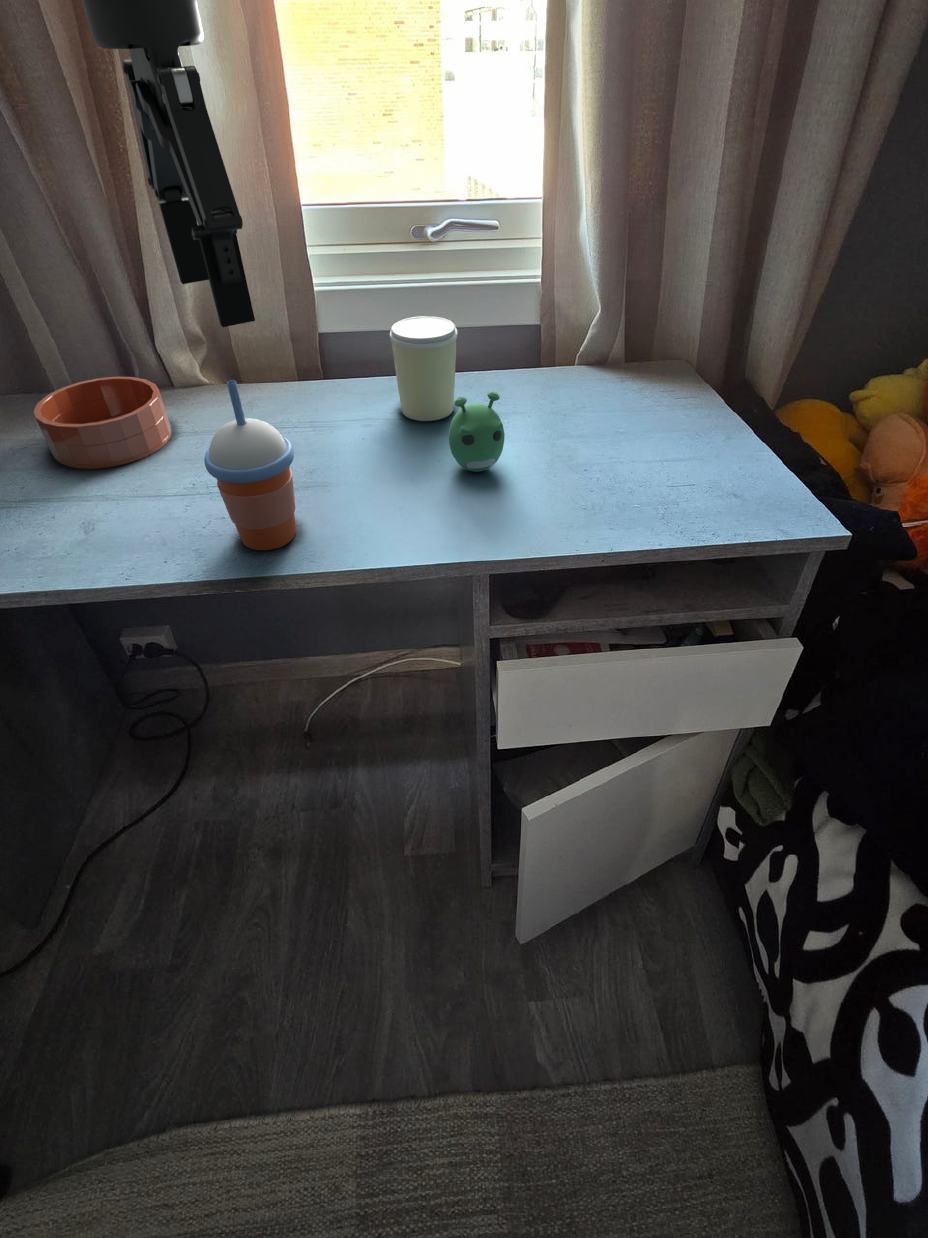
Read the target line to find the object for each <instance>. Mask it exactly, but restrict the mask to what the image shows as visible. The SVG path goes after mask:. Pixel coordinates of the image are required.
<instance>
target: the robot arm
mask: <svg viewBox="0 0 928 1238" xmlns="http://www.w3.org/2000/svg"><path fill="white" fill-rule="evenodd" d="M81 3H82V6H83V9H84V13H85V16H86V19H87V22H88V27H89V29H90V33H91V37H92V39H93V41H94V43H95V44H96V45H97V46H98V47H99V48H102V49H106V50H129V53H130V58H125V59H122V61H121V62H122V65H121V68H122V71H123V74H125V78H126V82H127V85H128V90H129V94H130V99H131V103H132V108H133V113H134V118H135V123H136V126H137V127H136V128H137V132H138V137H139V141H140V147H141V152H142V156H143V161H144V166H145V170H146V175H147V178H146V180H147V183H148V186H149V187H150V188H151V190H153V193H154V196H155V197H156V198H157V201H158V202H160V203H158V205H159V209H160V212H161V217H162V220H163V223H164V227H165V231H166V234H167V237H168V241H169V245H170V248H171V253H172V255H173V259H174V263H175V267H176V270H177V274H178V277H179V281H180V283H181V284H182V285H186V284H193V283H199V282H204V281H209V285H210V290H211V293H212V297H213V301H214V305H215V309H216V313H217V317H218V321H219V325H220V326H221V327H222V328H226V327H231V326H237V325H241V324H246V323H251V322H256V318H255V313H254V309H253V305H252V304H253V303H252V299H251V295H250V291H249V286H248V282H247V277H246V273H245V267H244V264H243V259H242V254H241V250H240V245H239V240H238V236H237V235H238V230H242V229H243V225H244V224H243V223H244V222H243V218H242V215H241V214H240V211H239V208H238V204H237V201H236V198H235V195H234V191H233V188H232V185H231V182H230V179H229V176H228V172H227V169H226V165H225V162H224V159H223V156H222V154H221V150H220V147H219V143H218V140H217V138H216V137H217V136H216V134H215V131H214V128H213V125H212V121H211V118H210V115H209V112H208V110H207V104H206V100H205V96H204V93H203V88H202V85H201V75H200V73H199V72H198V69H197V68H196V66H195V65H185V66H183V62H182V58H181V57H180V56H179V55H180V53H179V47H192V46H198V45H200V44H201V43H202V42H203V41H204V38H205V34H204V33H205V32H204V28H203V23H202V19H201V14H200V9H199V5H198V0H81Z"/></svg>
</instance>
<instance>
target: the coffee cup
mask: <svg viewBox="0 0 928 1238" xmlns="http://www.w3.org/2000/svg"><path fill="white" fill-rule="evenodd" d="M457 338H458V330H457V328H456V325H455V324H454V323H453V321H451V320H450V319H447V318H443V317H439V316H432V315H431V316H429V315H423V316H422V315H421V316H420V315H419V316H413V317H407V318H403V319H401V320H398V321H397V322H395V323H394V324H393V325H392V326H391V330H390V331H389V339H390V341H391V349H392V355H393V364H394V371H395V376H396V377H395V378H396V383H397V390H398V397H399V403H400V408H401V413H402V415H404V416H405V417H406V418H408V419H410V420H414V421H419V422H434V421H438V420H442V419H445V418H447V417H449V416H450V415H451V414H452V413H453V411H454V407H455V387H456V385H455V383H456V363H457Z"/></svg>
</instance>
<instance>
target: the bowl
mask: <svg viewBox="0 0 928 1238" xmlns="http://www.w3.org/2000/svg"><path fill="white" fill-rule="evenodd" d="M33 414H34V417H35V420H36V422H37V424H38V426H39V429H40V431H41V433H42V435H43V437H44V439H45V442H46V443H47V446H48V448H49V451H50V453H51V455H52V456H53V458H54V459H55V460H56V461H57V462H58V463H60V464H61V465H64V466H66V467H70V468H76V469H83V470H87V469H88V470H95V469H107V468H108V469H109V468H112V467H113V468H115V467H118V466H123V465H127V464H130V463H133V462H135V461H139V460H141V459H144V458H147V457H149V456H150V455H152V454H155V452H157V451H159V450H160V449H162V448H163V447H164V446H165V445H166V444H167V443H168V442H169V440H170V438H171V436H172V428H171V427H172V426H171V423H170V420H169V417H168V413H167V410H166V407H165V404H164V400H163V398H162V395H161V392H160V389H159V388H158V386H157V384H155V383H154V382H152V381H150V380H148V379H145V378H139V377H134V376H109V377H98V378H97V377H96V378H92V379H87V380H83V381H82V380H81V381H78V382H76V383H72V384H69V385H66V386H64V387H61V388H59V389H57V390H55V391H52V392H50V393H48V394H47V395H46V396H44V397H43V398H42V399H41V400H39V401H38V402H37V403H36V405H35V407H34V409H33Z"/></svg>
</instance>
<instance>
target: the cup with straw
mask: <svg viewBox="0 0 928 1238" xmlns="http://www.w3.org/2000/svg"><path fill="white" fill-rule="evenodd" d="M226 385H227V389H228V393H229V397H230V401H231V406H232V409H233V413H234V417H235V419H234V420H231V421H229V422H227V423H225V424H224V425H222V426H221V427H220V428H219V429H218V430H216V432H215V433H214V435H213V437H212V439H211V441H210V444H209V447H208V449H207V450H206V451H205V454H204V457H203V458H204V459H203V461H204V467H205V469H206V471H207V472H208V474H209V475H210V476H211V477H213V478H214V479H216V485H217V489H218V492H219V493H220V496H221V498H222V501H223V503H224V505H225V508H226V511H227V513H228V515H229V518H230V520H231V522H232V523H233V524H234V526H235V528H236V531H237V534H238V536H239V538H240V541H241V542H242V544H243V545H244V546H245V547H246V548H248V549H251V550H255V551H272V550H276V549H279V548H282V547H284V546H285V545H287V544H289V543H290V542H292V540H293V539H294V538H295V536H296V533H297V528H296V527H297V526H296V517H295V511H296V499H295V489H294V479H293V471H292V469H291V465H292V463H293V461H294V458H295V451H294V447H293V445H292V443H291V442H290V440H288V438H286V437H285V436H284V435H282V434H281V433H280V432H279V430H277V429H276V428H275V427H274V426H273V425H271V424H270V423H267V422H266V421H263V420H261V419H257V418H251V417H250V418H249V417H247V418H246V417H245V413H244V408H243V404H242V401H241V395H240V391H239V388H238V384H237V381H236V380H234V379H231V380H227V382H226Z"/></svg>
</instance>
